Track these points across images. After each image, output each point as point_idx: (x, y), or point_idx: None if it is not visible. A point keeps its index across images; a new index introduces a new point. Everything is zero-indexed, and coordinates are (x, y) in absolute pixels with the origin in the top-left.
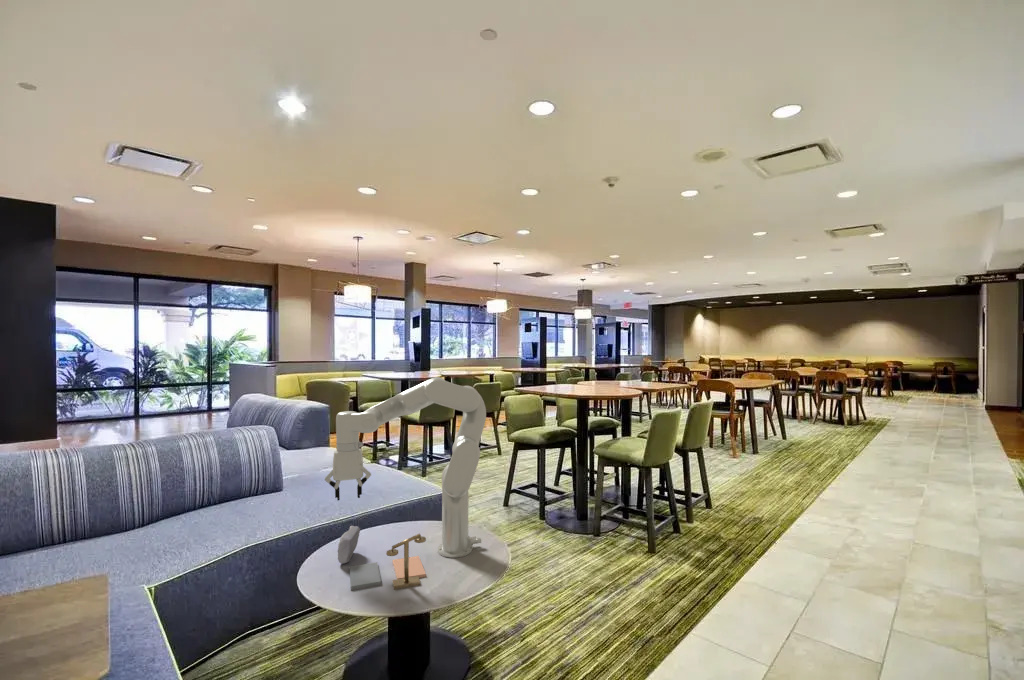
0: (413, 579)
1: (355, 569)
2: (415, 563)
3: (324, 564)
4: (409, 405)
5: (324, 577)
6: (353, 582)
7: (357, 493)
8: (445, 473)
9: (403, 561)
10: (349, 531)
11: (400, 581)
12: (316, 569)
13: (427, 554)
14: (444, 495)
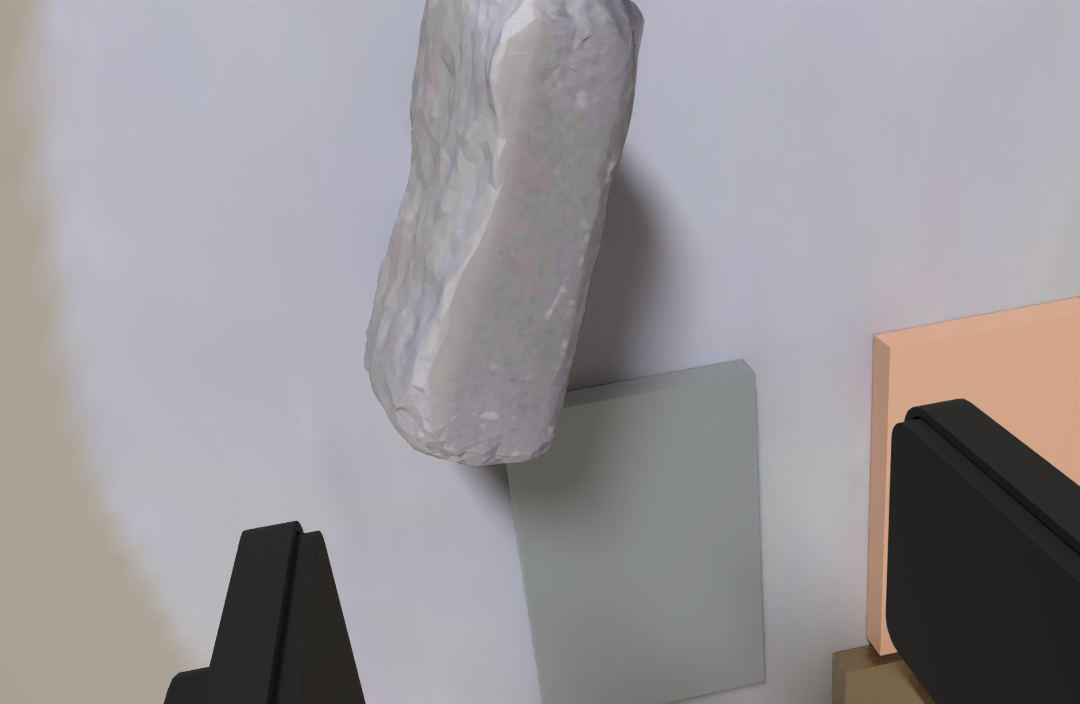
0: None
1: (561, 483)
2: (1058, 446)
3: (209, 240)
4: None
5: (288, 505)
6: (563, 680)
7: (939, 551)
8: None
9: (975, 395)
10: (505, 249)
11: (894, 692)
12: (156, 341)
13: None
14: None
